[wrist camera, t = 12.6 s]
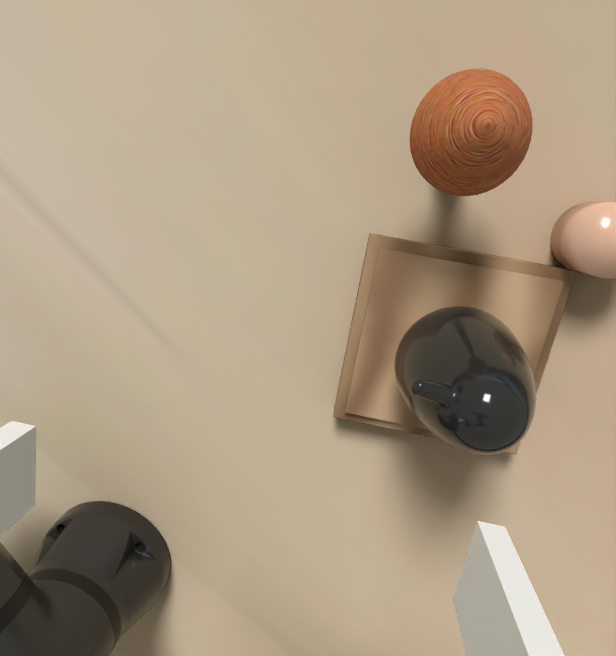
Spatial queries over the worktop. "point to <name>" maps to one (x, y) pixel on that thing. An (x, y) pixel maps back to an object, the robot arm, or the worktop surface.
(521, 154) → the mushroom
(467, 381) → the pump dispenser
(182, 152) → the worktop surface
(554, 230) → the pink rounded glossy part
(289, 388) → the worktop surface
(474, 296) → the walnut tray
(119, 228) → the worktop surface
